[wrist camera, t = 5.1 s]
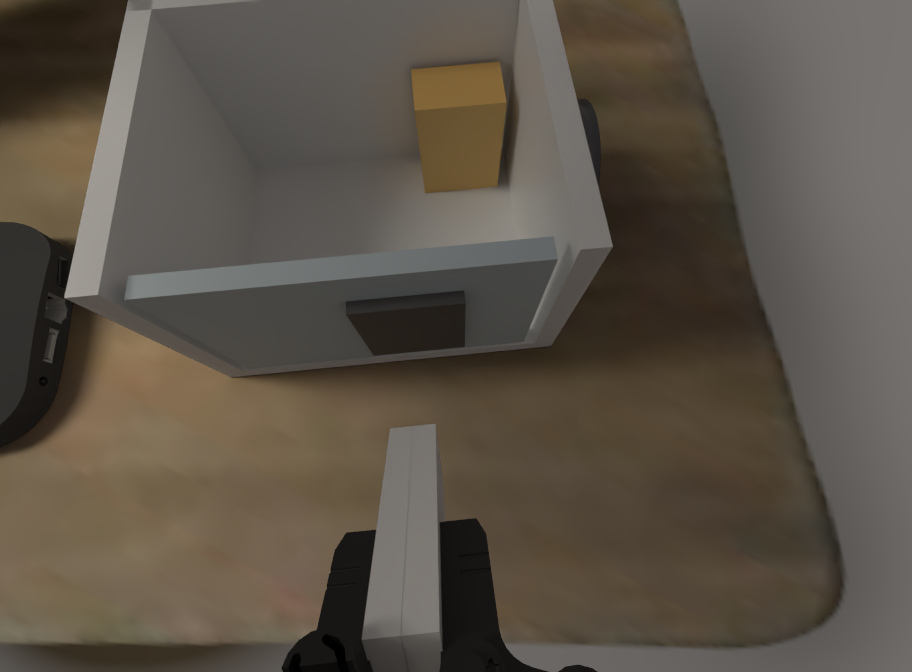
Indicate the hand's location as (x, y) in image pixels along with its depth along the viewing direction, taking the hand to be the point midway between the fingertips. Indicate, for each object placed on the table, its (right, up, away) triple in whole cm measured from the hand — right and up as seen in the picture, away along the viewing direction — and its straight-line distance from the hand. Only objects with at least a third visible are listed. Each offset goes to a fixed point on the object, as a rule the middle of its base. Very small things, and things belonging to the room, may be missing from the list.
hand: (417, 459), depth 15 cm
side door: (-3, +3, +11) cm, 12 cm away
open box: (-4, +10, +15) cm, 19 cm away
